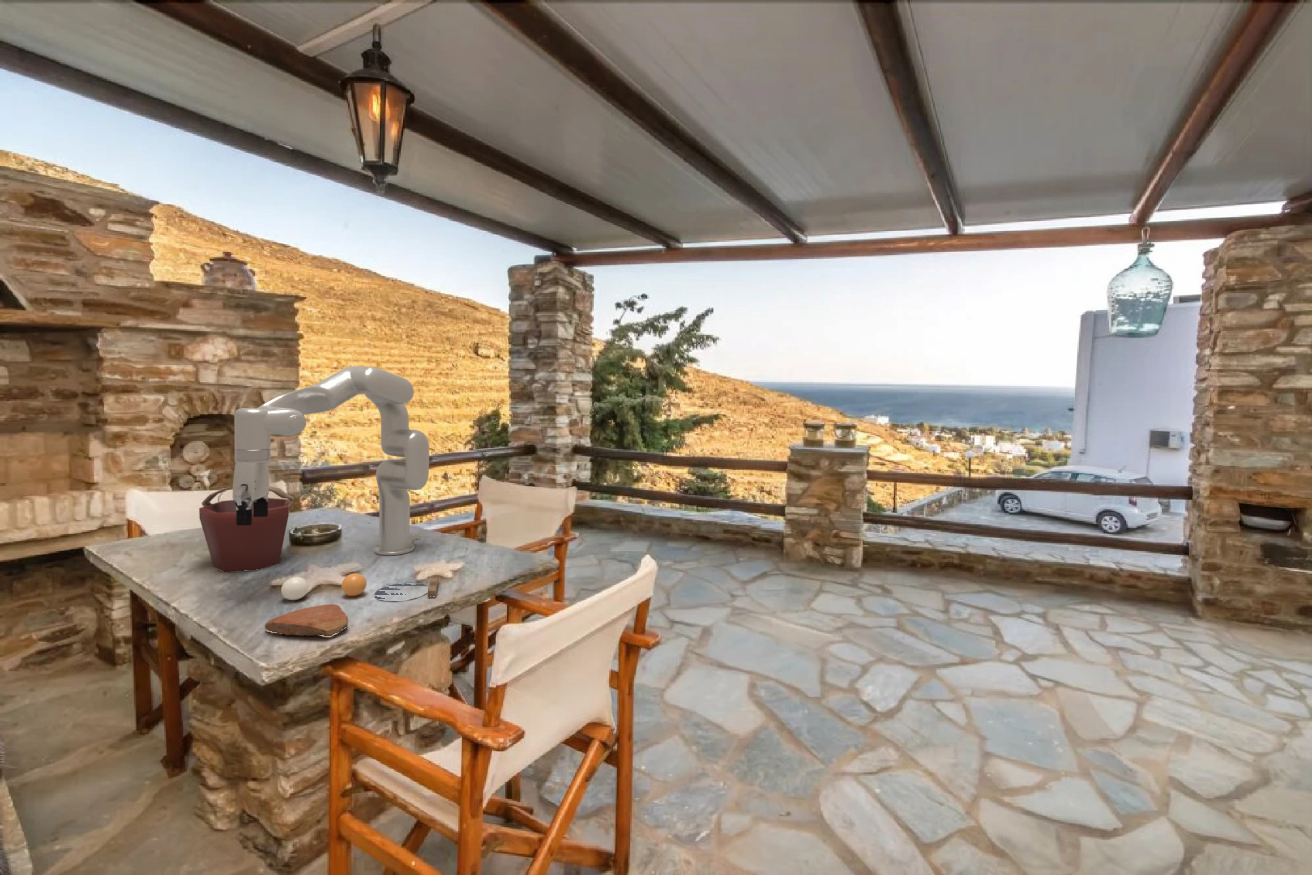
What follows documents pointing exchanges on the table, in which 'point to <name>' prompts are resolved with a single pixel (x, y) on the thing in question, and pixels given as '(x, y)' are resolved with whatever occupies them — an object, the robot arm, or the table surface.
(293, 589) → the cue ball
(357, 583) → the object ball
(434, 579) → the stopper rail
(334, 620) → the ceramic shard
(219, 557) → the bucket
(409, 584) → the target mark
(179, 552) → the table surface
